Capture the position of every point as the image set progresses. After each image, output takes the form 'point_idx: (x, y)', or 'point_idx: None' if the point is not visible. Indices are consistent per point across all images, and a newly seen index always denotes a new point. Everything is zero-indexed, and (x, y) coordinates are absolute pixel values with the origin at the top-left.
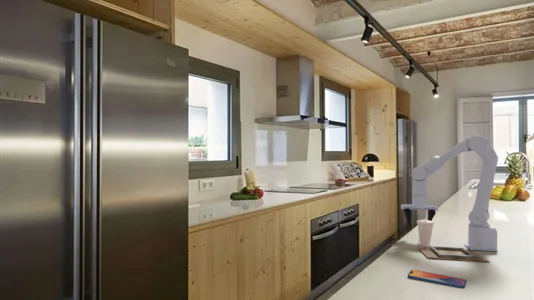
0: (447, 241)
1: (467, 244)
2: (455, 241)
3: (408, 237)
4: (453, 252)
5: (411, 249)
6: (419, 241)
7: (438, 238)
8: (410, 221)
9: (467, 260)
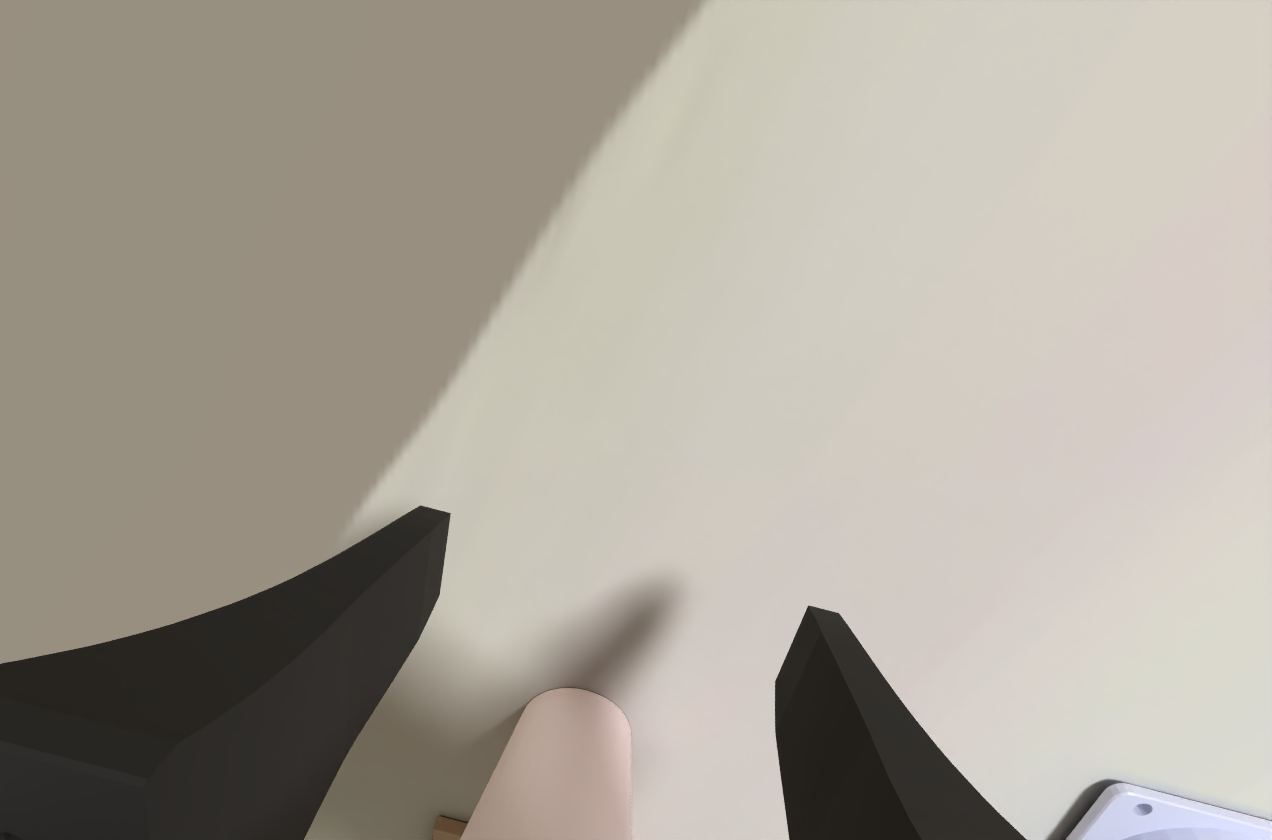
0: (1051, 590)
1: (1135, 819)
2: (1191, 599)
3: (546, 317)
4: None
5: (364, 826)
6: (507, 745)
7: (1066, 405)
8: (370, 706)
9: None
